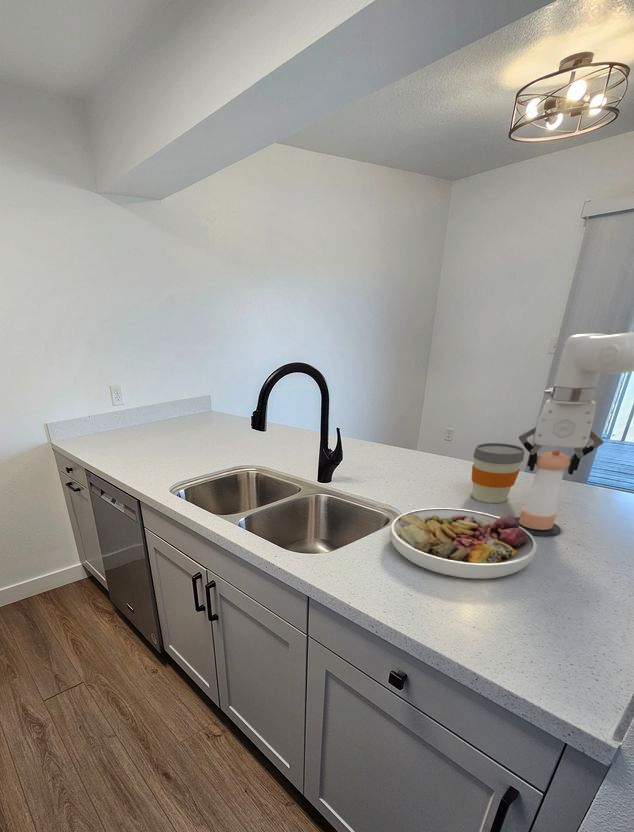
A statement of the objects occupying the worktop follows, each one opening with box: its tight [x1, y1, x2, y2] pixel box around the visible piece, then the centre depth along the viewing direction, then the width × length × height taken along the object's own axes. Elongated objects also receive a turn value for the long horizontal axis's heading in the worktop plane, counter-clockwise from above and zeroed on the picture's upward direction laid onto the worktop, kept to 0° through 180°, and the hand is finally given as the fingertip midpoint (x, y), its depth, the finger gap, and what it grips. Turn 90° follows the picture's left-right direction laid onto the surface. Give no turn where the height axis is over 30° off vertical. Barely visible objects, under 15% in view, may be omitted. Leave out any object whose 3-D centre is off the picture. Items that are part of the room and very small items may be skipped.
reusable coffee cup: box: [471, 442, 526, 504], centre depth 127 cm, size 13×13×15 cm
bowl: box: [389, 507, 538, 580], centre depth 101 cm, size 30×30×8 cm
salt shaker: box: [519, 449, 571, 530], centre depth 107 cm, size 7×7×19 cm
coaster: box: [516, 516, 561, 537], centre depth 111 cm, size 11×11×1 cm
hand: (550, 470), depth 105 cm, fingers closed on salt shaker, 7 cm apart
